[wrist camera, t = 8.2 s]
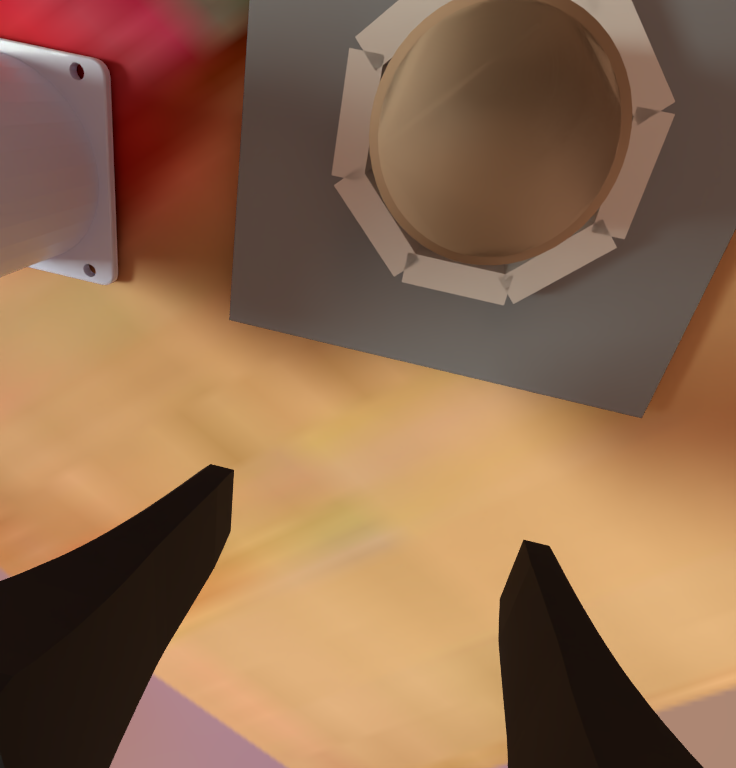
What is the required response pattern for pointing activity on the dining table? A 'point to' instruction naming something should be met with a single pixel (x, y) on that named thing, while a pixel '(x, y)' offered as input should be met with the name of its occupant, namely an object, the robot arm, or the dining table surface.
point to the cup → (500, 127)
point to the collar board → (468, 281)
